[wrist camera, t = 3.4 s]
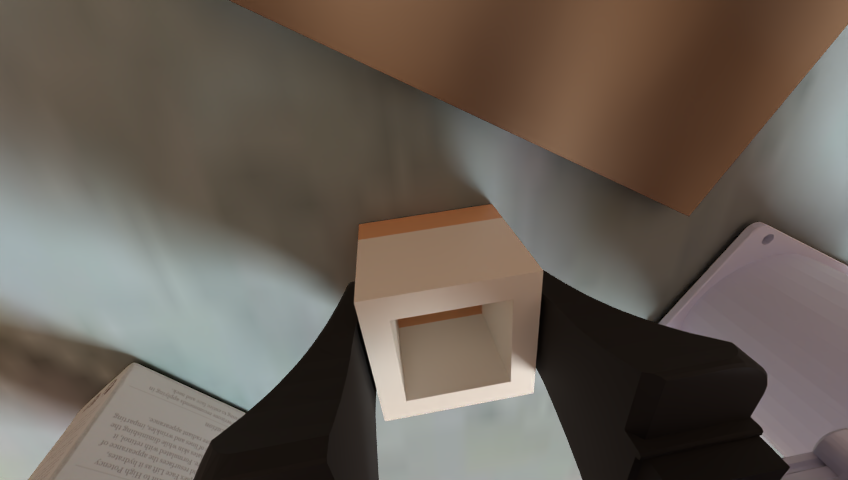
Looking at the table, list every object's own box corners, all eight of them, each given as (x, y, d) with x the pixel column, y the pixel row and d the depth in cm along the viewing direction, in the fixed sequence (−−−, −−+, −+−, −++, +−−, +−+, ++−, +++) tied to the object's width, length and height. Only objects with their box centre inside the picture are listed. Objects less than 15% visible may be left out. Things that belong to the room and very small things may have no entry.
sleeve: (491, 204, 13) (543, 270, 9) (492, 306, 16) (533, 392, 12) (359, 224, 13) (353, 302, 9) (381, 325, 15) (385, 421, 11)
